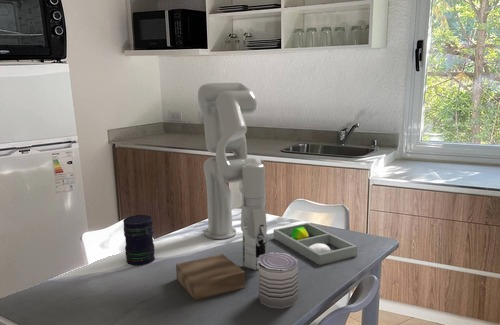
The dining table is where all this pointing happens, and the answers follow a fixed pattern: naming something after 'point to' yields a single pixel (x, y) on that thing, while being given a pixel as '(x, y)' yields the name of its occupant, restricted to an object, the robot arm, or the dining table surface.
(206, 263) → the base block
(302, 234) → the apple
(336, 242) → the fruit tray
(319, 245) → the garlic
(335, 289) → the dining table surface
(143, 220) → the storage jar
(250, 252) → the syrup box
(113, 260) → the dining table surface
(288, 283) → the can
